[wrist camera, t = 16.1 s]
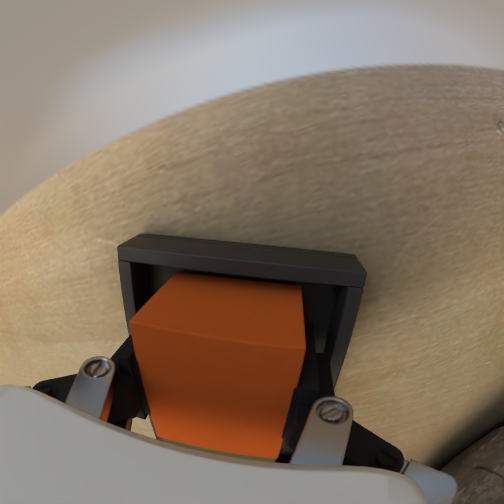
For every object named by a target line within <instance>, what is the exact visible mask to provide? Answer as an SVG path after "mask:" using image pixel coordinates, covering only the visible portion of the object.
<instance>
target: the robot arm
mask: <svg viewBox="0 0 504 504" xmlns="http://www.w3.org/2000/svg"><path fill="white" fill-rule="evenodd" d="M304 325H305V339H306V352H305V356H304V361H303V365H302V369H301V374H300V378H299V382H298V386H297V388H294V390H293V394H292V398H291V402H290V406H289V410H288V414H287V418H286V422H285V426H284V430H283V433H282V437H281V438H283V439H286V446H289V448H290V449H291V450H292V451H294V454H293V456H292V458H291V461H290V463H289V464H287V463H274V462H264V461H255V460H247V459H240V458H233V457H227V456H222V455H216V454H211V453H206V452H202V451H197V450H193V449H189V448H184V447H180V446H177V445H173V444H169V443H166V442H162V441H159V440H155V439H152V438H149V437H146V436H143V435H140V434H137V433H134V432H131V431H130V430H131V425H132V418H135V417H139V418H142V419H146V417H147V416H148V414H151V412H150V408H149V405H148V401H147V398H146V394H145V390H144V386H143V382H142V378H141V374H140V369H139V365H138V361H137V360H136V355H135V350H134V345H133V340H132V335H130V336H129V337H128V338H127V339H126V341H125V342H124V343H123V344H122V345H121V347H120V348H119V349H118V350H117V351H116V352H115V354H114V355H113V356H112V357H111V358H110V359H109V358H107V357H103V356H96V357H92V358H90V359H87V360H86V361H85V362H84V363H83V364H82V366H81V368H80V370H79V372H78V374H74V375H69V376H64V377H60V378H55V379H49V380H44V381H41V382H39V383H37V384H36V385H35V386H34V387H33V388H31V386H26V387H23V386H17V385H3V386H0V504H452V502H453V500H454V497H455V495H456V493H457V488H458V485H457V481H456V480H455V478H454V477H452V476H451V475H449V474H446V473H444V472H441V471H438V470H436V469H433V468H431V467H428V466H426V465H423V464H421V463H419V462H416V461H414V460H412V459H411V460H410V461H407V460H404V457H403V454H402V453H401V451H400V450H399V449H397V448H396V447H395V446H393V445H391V444H390V443H388V442H386V441H385V440H383V439H382V438H380V437H378V436H377V435H375V434H374V433H372V432H370V431H369V430H367V429H366V428H364V427H363V426H361V425H360V424H358V423H357V422H355V421H354V420H353V409H352V406H351V405H350V404H349V403H348V402H347V401H346V400H344V399H342V398H339V397H336V396H335V394H334V387H333V380H332V373H331V366H330V360H329V355H328V354H327V353H316V347H315V338H314V329H313V322H304Z"/></svg>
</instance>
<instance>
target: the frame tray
mask: <svg viewBox="0 0 504 504" xmlns="http://www.w3.org/2000/svg"><path fill="white" fill-rule="evenodd" d="M117 250H118V259H119V261H118V263H119V272H120V281H121V289H122V296H123V303H124V309H125V316H126V321H127V327H128V333H129V336H130V335H131V329H130V324H129V321H130V320H131V319H132V317H133V316H134V315H135V314H136V313H137V312H138V311H139V310H140V309H141V308H142V307H143V306H144V305H145V304H146V303H147V302H148V301H149V299H150V298H151V297H152V296H153V295H154V294H155V293H156V292H157V291H158V290H159V289H160V288H161V287H162V286H163V285H164V284H165V283H166V282H167V281H168V280H169V279H170V278H171V277H172V276H173V275H174V274H175V273H176V272H184V273H192V274H200V275H208V276H217V277H225V278H234V279H243V280H252V281H261V282H270V283H280V284H290V285H300V286H301V288H302V300H303V312H304V322H313V329H314V338H315V347H316V353H327V354H328V355H329V360H330V366H331V373H332V380H333V387H334V388H335V385H336V382H337V379H338V376H339V373H340V370H341V367H342V364H343V361H344V358H345V355H346V351H347V348H348V345H349V341H350V338H351V334H352V331H353V327H354V324H355V320H356V316H357V312H358V309H359V305H360V301H361V296H362V292H363V287H364V284H365V279H366V274H367V273H366V271H365V269H364V268H363V266H362V265H361V263H360V262H359V260H358V259H357V257H356V256H355V255H354V254H345V253H335V252H326V251H316V250H307V249H297V248H287V247H277V246H267V245H257V244H247V243H237V242H227V241H216V240H206V239H195V238H185V237H174V236H163V235H152V234H139V235H137V236H136V237H133V238H132V239H130V240H128V241H126V242H124V243H122V244H121V245H119V246H118V247H117ZM149 418H150V421H151V424H152V427H153V430H154V433H155V436H156V439H157V440H159V441H162V442H164V440H163V438H161V437H158V436H157V433H156V430H155V427H154V424H153V421H152V418H151V414H149ZM293 454H294V451H292V450H291V449H290V448H289V446H286V439H283V442H282V446H281V449H280V452H279V456H278V458H276V461H275V463H287V464H289V463H290V461H291V458H292V456H293Z"/></svg>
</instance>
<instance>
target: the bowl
mask: <svg viewBox="0 0 504 504" xmlns="http://www.w3.org/2000/svg"><path fill="white" fill-rule="evenodd" d="M440 471H441V472H444V473H446V474H449V475H451V476H452V477H454V478H455V480H456V481H457V485H458V488H457V493H456V495H455V497H454V500H453V502H452V504H504V425H503V426H502V427H500V428H498V429H494V430H493V431H492V432H490V433H489V434H487V435H486V436H484V437H483V438H481V439H480V440H478V441H477V442H475V443H473V444H472V445H471V446H469V447H468V448H467V449H465V450H464V451H463V452H462V453H460V454H459V455H457V456H456V457H455V458H453V459H452V460H451V461H450V462H449V463H447V464H446V465H445V466H444V467H443V468H442V469H441V470H440Z"/></svg>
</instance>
